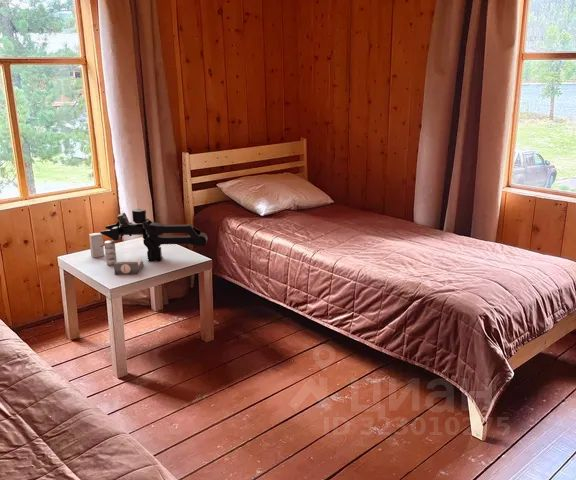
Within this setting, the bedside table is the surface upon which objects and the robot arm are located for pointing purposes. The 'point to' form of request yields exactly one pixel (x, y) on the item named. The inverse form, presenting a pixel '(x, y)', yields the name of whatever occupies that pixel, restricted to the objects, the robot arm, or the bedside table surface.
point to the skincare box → (96, 244)
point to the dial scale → (128, 267)
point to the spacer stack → (110, 252)
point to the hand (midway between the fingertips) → (103, 229)
